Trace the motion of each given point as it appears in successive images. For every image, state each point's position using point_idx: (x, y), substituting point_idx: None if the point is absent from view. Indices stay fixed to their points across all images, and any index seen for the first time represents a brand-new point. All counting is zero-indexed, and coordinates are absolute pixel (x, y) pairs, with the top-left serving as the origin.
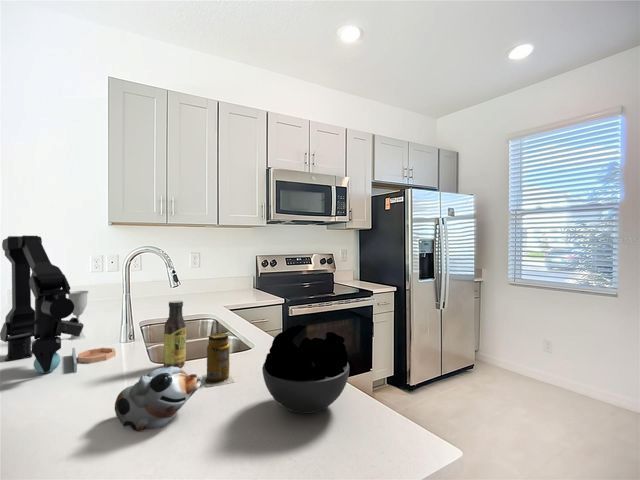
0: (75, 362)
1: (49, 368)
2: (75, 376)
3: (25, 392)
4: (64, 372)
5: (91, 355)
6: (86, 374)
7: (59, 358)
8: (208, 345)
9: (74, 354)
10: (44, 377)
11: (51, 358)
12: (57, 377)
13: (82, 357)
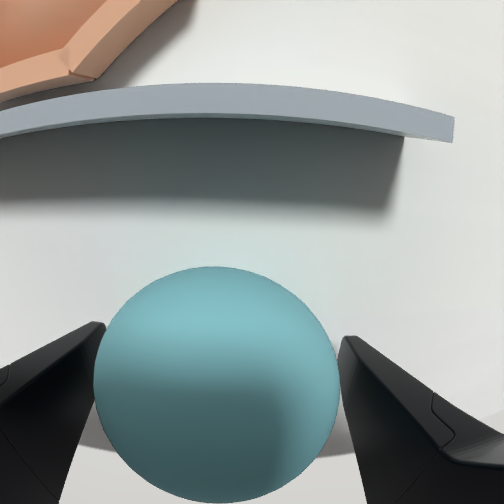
0: (416, 121)
1: (372, 350)
2: (493, 153)
3: (490, 379)
4: (342, 205)
5: (7, 7)
6: (500, 85)
7: (255, 305)
8: None
9: (23, 116)
10: (350, 335)
11: (450, 413)
12: (425, 261)
13: (94, 34)
